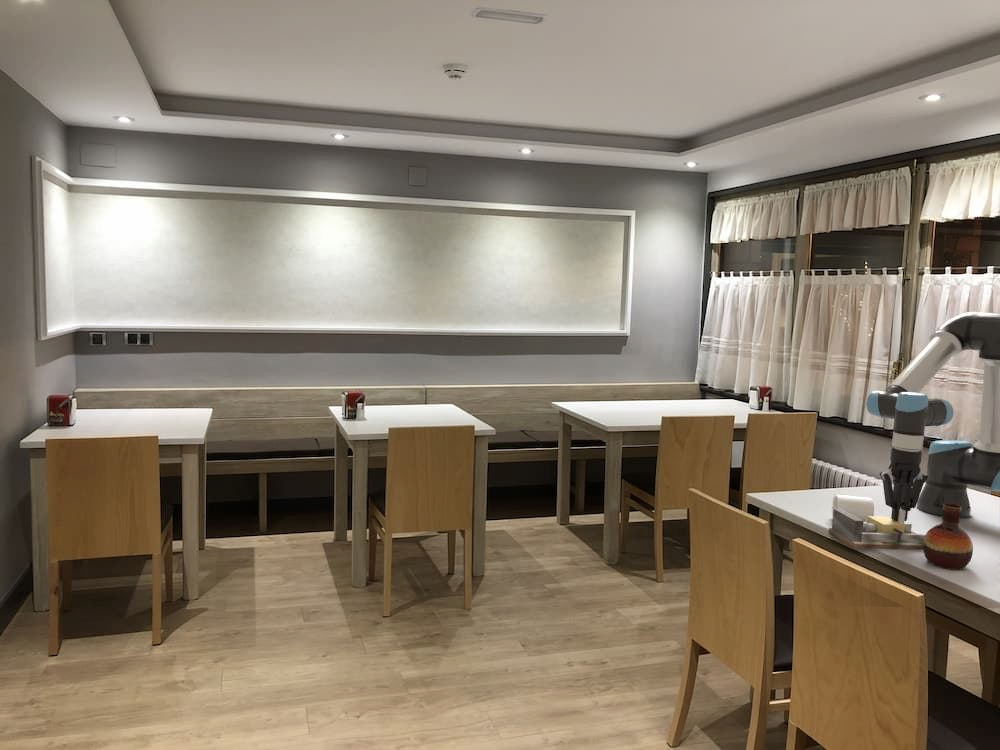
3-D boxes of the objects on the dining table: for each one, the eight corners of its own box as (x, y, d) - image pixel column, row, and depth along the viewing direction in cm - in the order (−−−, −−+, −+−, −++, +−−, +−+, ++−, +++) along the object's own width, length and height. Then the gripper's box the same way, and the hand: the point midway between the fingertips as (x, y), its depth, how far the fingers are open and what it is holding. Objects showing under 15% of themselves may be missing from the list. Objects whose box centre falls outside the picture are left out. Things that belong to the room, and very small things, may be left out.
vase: (978, 574, 192) (985, 513, 190) (930, 569, 194) (937, 509, 192) (960, 559, 203) (967, 502, 201) (914, 555, 204) (921, 497, 203)
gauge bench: (908, 533, 223) (910, 509, 223) (939, 550, 210) (942, 524, 209) (828, 531, 221) (831, 507, 220) (855, 548, 207) (858, 522, 207)
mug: (872, 528, 227) (875, 501, 227) (836, 524, 229) (839, 498, 229) (862, 517, 239) (864, 491, 238) (827, 513, 241) (830, 488, 240)
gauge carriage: (886, 531, 219) (887, 516, 219) (910, 544, 208) (912, 529, 208) (855, 530, 219) (857, 515, 218) (879, 544, 207) (880, 528, 207)
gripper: (920, 446, 217) (911, 528, 220) (876, 445, 216) (867, 527, 219) (937, 452, 210) (928, 536, 212) (892, 450, 209) (883, 535, 211)
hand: (897, 532), depth 215 cm, fingers closed
